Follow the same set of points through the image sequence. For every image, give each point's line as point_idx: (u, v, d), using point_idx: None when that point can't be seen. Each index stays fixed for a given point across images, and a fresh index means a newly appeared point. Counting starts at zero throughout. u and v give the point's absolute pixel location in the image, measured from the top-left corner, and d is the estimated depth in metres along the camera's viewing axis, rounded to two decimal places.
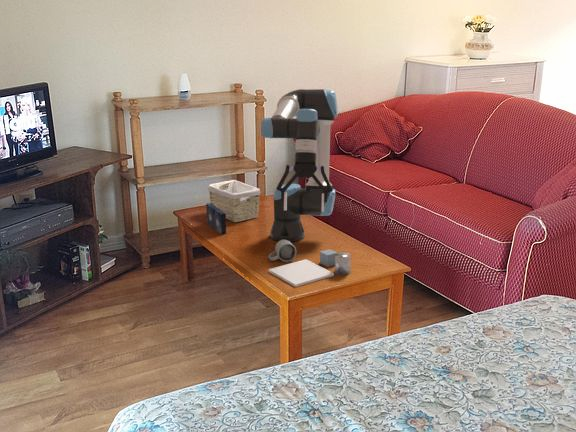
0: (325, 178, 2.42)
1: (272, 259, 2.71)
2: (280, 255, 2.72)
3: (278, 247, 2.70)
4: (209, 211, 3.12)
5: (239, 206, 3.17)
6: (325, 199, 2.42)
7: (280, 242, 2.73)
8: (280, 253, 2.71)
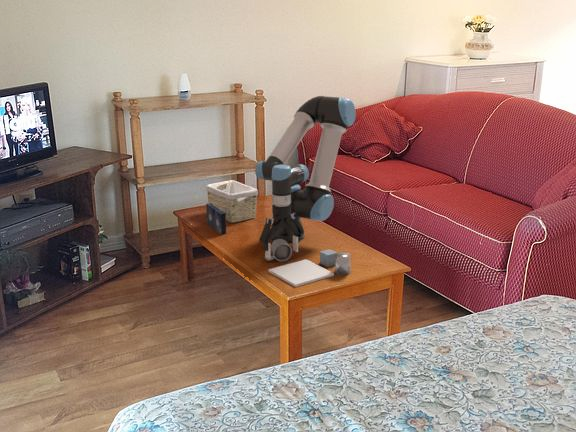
0: (298, 223, 2.73)
1: (268, 259, 2.71)
2: (276, 255, 2.71)
3: (273, 247, 2.70)
4: (209, 211, 3.12)
5: (236, 206, 3.17)
6: (298, 241, 2.75)
7: (275, 242, 2.72)
8: (276, 253, 2.71)
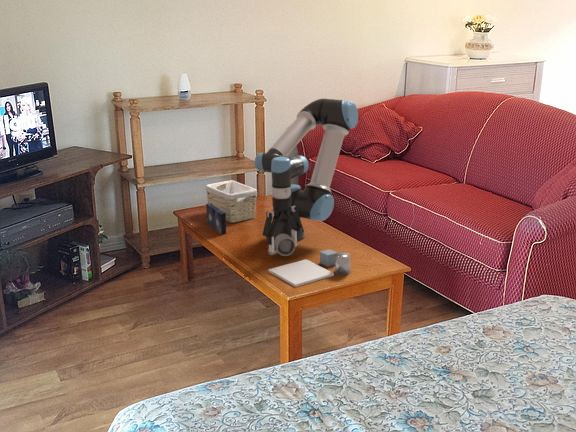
0: (298, 217, 2.72)
1: (271, 253, 2.71)
2: (279, 249, 2.72)
3: (277, 241, 2.71)
4: (209, 211, 3.12)
5: (236, 206, 3.16)
6: (297, 235, 2.75)
7: (279, 236, 2.73)
8: (279, 247, 2.71)
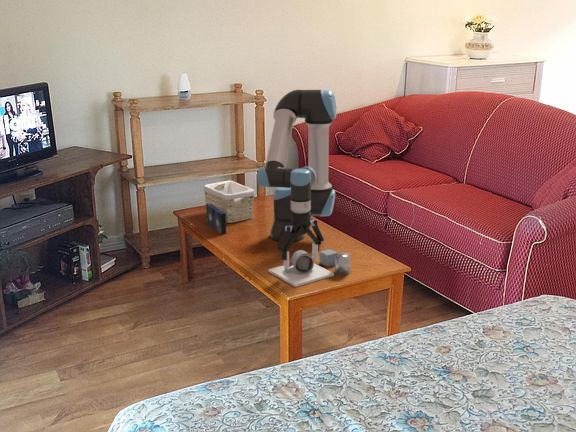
0: (318, 231, 2.57)
1: (288, 271, 2.56)
2: (297, 267, 2.57)
3: (294, 258, 2.56)
4: (209, 211, 3.12)
5: (233, 207, 3.16)
6: (318, 249, 2.60)
7: (297, 253, 2.58)
8: (297, 265, 2.57)
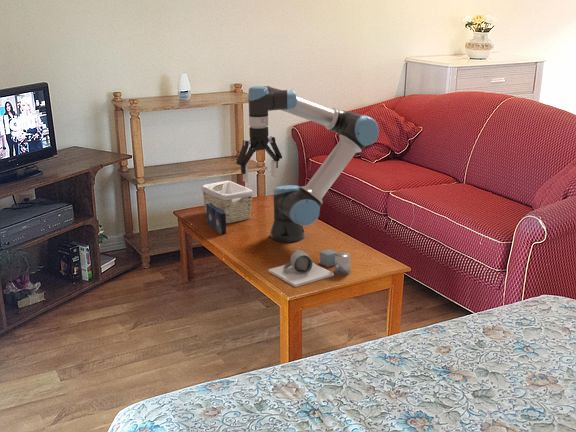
0: (276, 147, 2.71)
1: (287, 271, 2.56)
2: (296, 267, 2.57)
3: (293, 258, 2.56)
4: (209, 211, 3.12)
5: (231, 207, 3.16)
6: None
7: (295, 253, 2.58)
8: (295, 265, 2.56)
